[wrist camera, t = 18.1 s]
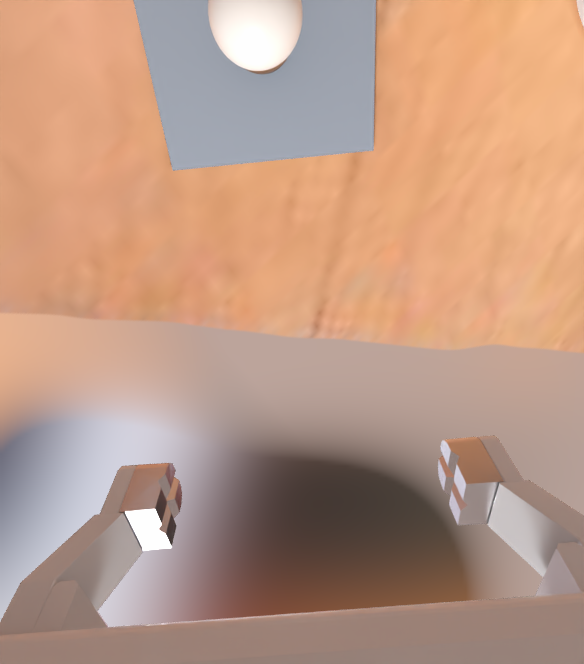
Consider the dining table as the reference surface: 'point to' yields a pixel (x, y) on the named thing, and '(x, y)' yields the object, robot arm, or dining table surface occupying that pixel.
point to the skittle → (256, 31)
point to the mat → (262, 86)
